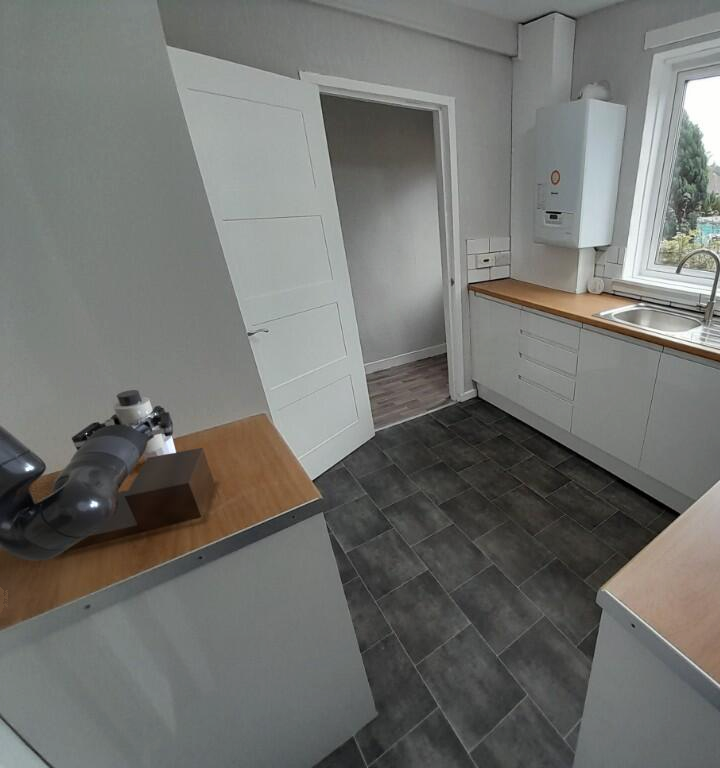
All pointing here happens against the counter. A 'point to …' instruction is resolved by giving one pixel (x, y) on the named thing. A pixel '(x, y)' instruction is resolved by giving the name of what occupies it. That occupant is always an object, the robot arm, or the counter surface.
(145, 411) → the white bottle
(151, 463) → the stepped wooden block
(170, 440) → the white short tapered cylinder
